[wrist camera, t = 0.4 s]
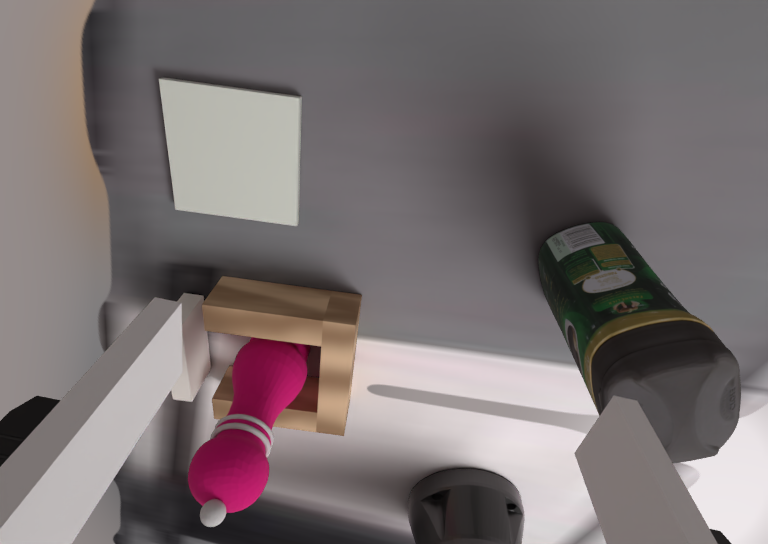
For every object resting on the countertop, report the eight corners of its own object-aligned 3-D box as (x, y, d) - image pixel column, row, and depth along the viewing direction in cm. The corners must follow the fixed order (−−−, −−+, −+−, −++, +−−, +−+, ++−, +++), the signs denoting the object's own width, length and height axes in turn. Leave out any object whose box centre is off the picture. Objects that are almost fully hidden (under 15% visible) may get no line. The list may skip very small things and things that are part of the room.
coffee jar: (632, 296, 43) (758, 467, 27) (548, 316, 45) (620, 488, 29) (621, 206, 39) (765, 347, 23) (528, 233, 40) (600, 381, 25)
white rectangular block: (211, 368, 51) (192, 401, 47) (193, 366, 51) (172, 399, 47) (203, 295, 46) (181, 325, 42) (183, 293, 46) (159, 322, 42)
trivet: (298, 222, 41) (296, 226, 41) (179, 206, 41) (175, 209, 41) (301, 96, 36) (299, 98, 35) (163, 77, 36) (158, 78, 35)
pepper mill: (316, 369, 51) (264, 557, 33) (252, 364, 51) (168, 548, 34) (313, 317, 47) (253, 498, 30) (245, 312, 47) (146, 489, 30)
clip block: (349, 400, 53) (343, 435, 48) (230, 384, 53) (214, 418, 48) (361, 294, 45) (355, 325, 41) (222, 276, 45) (201, 304, 41)
